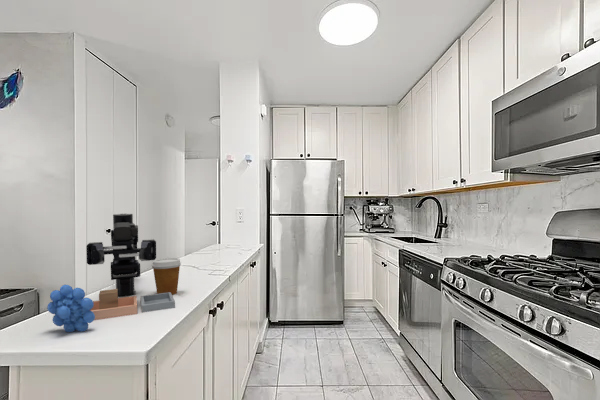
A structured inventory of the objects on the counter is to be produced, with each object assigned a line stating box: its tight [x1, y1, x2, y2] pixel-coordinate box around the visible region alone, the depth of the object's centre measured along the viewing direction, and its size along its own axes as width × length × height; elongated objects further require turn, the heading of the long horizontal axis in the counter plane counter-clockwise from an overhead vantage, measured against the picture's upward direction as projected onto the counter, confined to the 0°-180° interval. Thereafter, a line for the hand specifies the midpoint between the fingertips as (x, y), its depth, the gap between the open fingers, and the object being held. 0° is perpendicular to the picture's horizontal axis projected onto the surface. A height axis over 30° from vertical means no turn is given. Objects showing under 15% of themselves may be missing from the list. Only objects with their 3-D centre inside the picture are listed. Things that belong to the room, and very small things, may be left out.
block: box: [98, 288, 119, 310], centre depth 102 cm, size 4×4×6 cm
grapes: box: [46, 284, 95, 333], centre depth 86 cm, size 12×7×12 cm, turn 88°
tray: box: [140, 292, 176, 313], centre depth 108 cm, size 12×9×2 cm
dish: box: [90, 295, 138, 321], centre depth 102 cm, size 12×15×3 cm
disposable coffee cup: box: [151, 257, 182, 296], centre depth 122 cm, size 10×10×12 cm
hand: (121, 257), depth 99 cm, fingers open, 9 cm apart
